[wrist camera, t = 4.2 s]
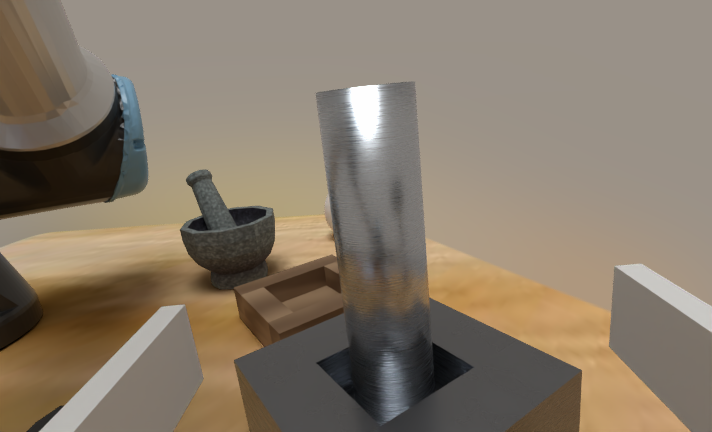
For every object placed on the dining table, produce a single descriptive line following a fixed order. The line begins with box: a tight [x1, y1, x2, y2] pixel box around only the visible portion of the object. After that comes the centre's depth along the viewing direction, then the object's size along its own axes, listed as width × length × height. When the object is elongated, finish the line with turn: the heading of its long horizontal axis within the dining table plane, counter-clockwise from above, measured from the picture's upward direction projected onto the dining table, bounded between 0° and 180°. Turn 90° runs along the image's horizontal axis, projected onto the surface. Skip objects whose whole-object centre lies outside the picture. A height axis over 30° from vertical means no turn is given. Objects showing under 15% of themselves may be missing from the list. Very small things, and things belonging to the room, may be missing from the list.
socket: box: [234, 298, 582, 432], centre depth 21 cm, size 12×12×5 cm
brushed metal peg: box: [316, 82, 435, 426], centre depth 19 cm, size 4×4×16 cm
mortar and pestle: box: [180, 170, 275, 289], centre depth 45 cm, size 11×9×12 cm
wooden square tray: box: [234, 255, 344, 347], centre depth 35 cm, size 10×10×3 cm
